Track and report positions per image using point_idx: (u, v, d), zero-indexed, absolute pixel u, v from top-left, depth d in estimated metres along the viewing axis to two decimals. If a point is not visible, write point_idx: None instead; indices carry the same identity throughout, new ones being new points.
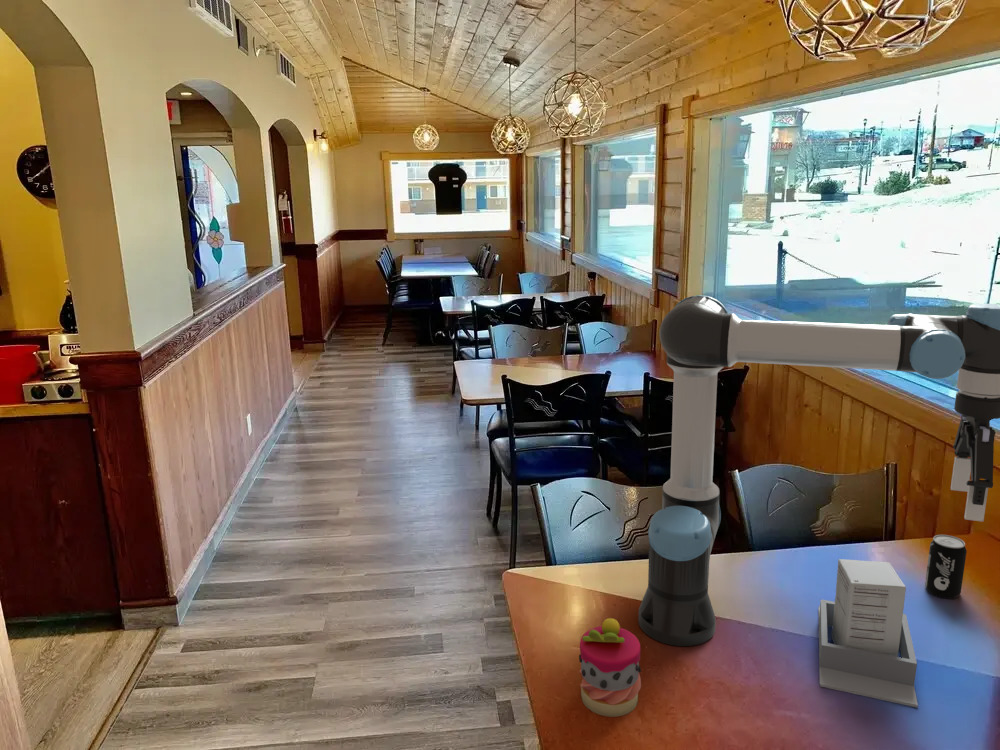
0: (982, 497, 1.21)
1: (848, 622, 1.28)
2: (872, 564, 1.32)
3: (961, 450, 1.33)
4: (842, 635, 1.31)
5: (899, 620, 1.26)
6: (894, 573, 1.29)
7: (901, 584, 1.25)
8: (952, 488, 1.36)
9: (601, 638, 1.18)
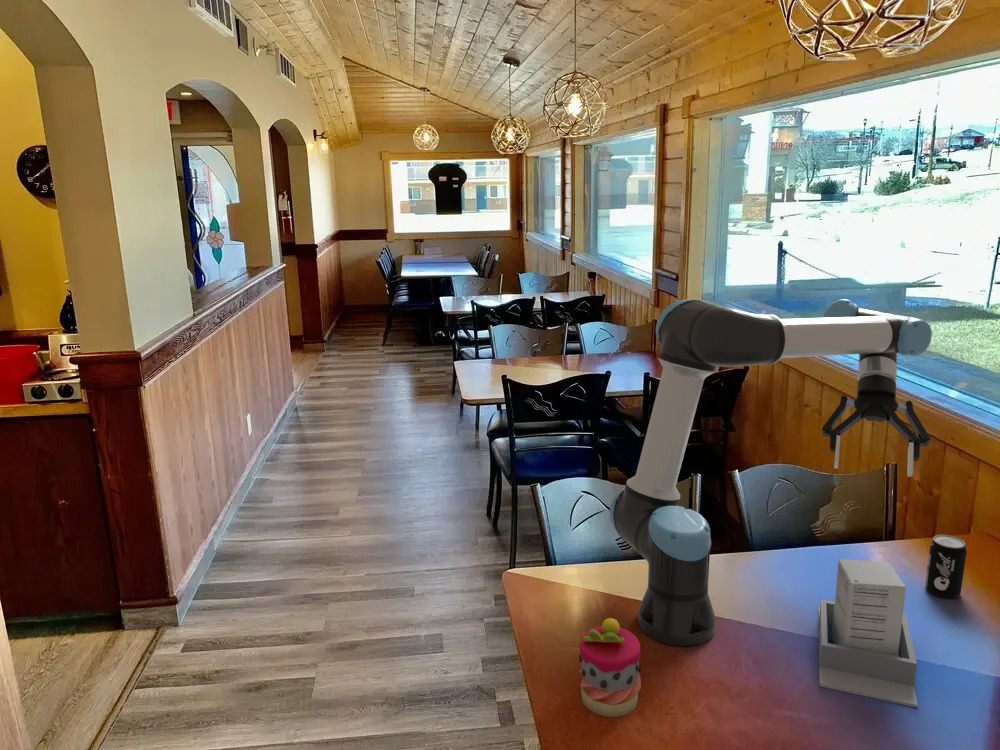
0: None
1: (848, 622, 1.28)
2: (872, 564, 1.32)
3: (842, 430, 1.53)
4: (842, 635, 1.31)
5: (899, 620, 1.26)
6: (894, 573, 1.29)
7: (901, 584, 1.25)
8: (838, 462, 1.49)
9: (601, 638, 1.18)
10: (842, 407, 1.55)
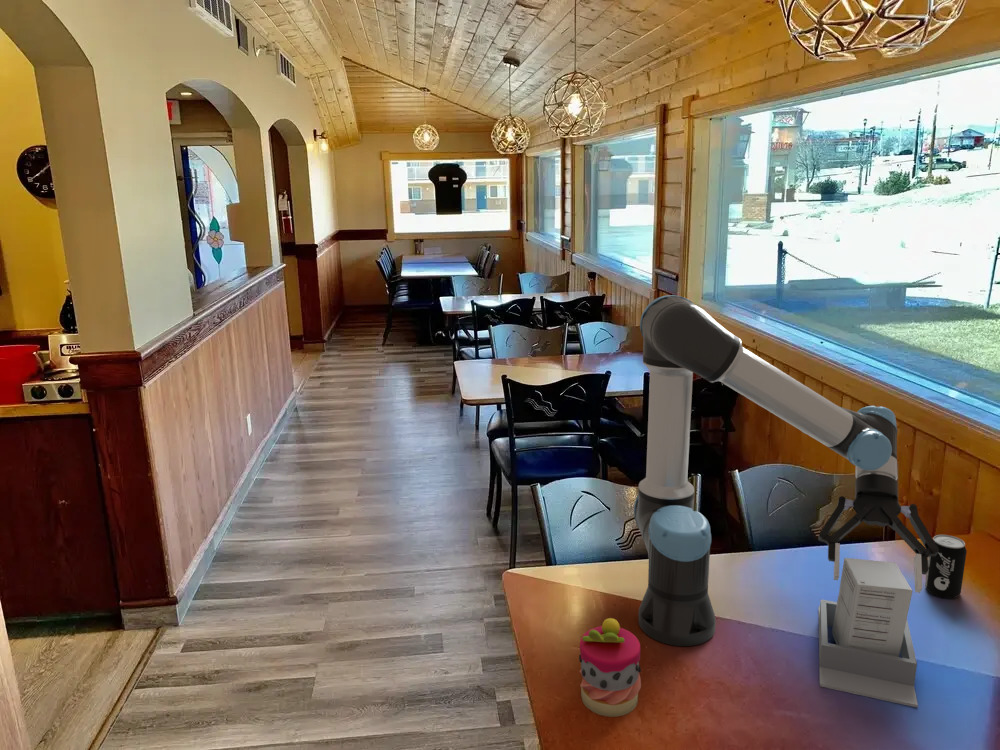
0: None
1: (852, 622, 1.27)
2: (879, 565, 1.30)
3: (841, 536, 1.38)
4: (844, 634, 1.30)
5: (903, 622, 1.25)
6: (900, 575, 1.27)
7: (908, 587, 1.24)
8: None
9: (601, 638, 1.18)
10: (840, 509, 1.40)
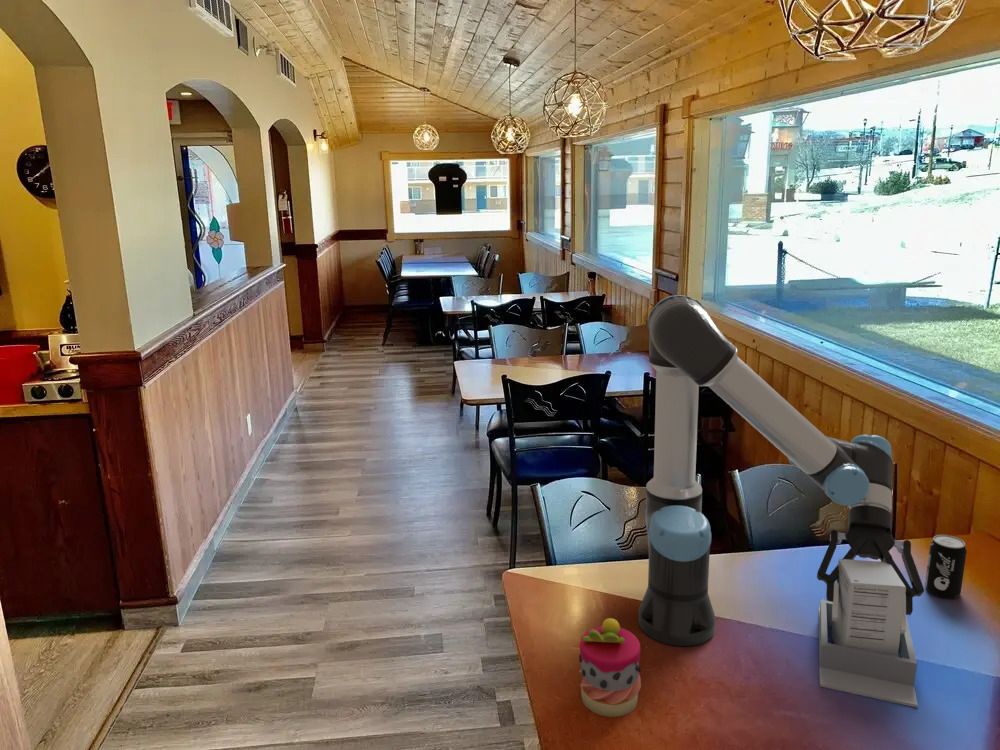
0: None
1: (848, 621, 1.28)
2: (873, 564, 1.32)
3: None
4: (841, 635, 1.31)
5: (899, 620, 1.26)
6: (894, 573, 1.29)
7: (901, 584, 1.25)
8: None
9: (601, 638, 1.18)
10: (834, 544, 1.36)
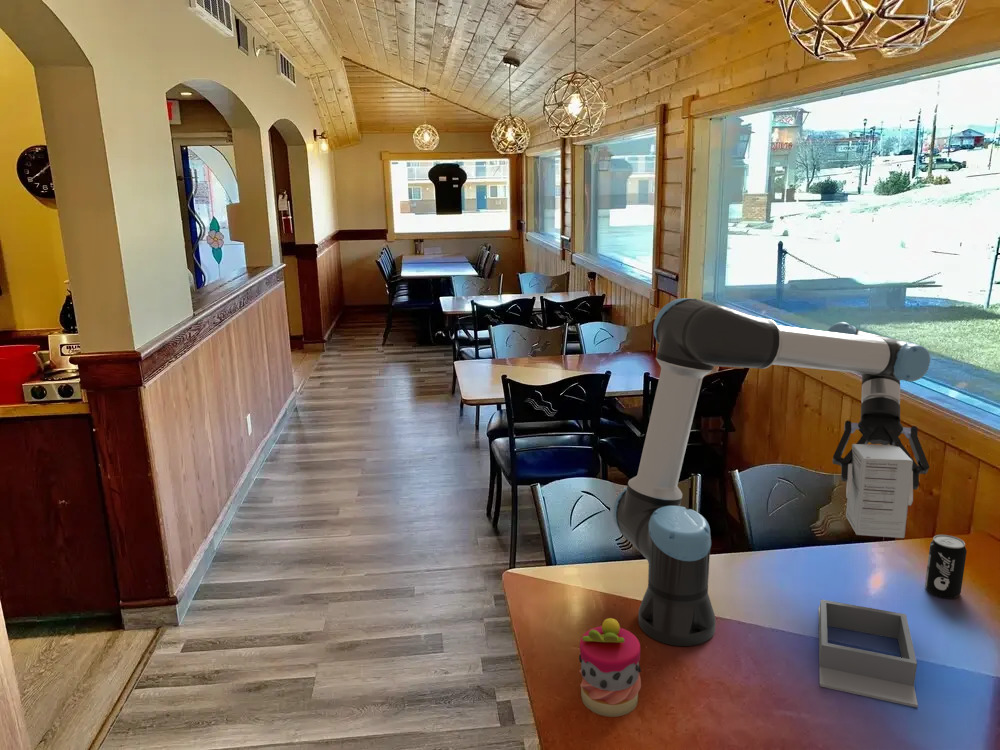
0: None
1: (861, 494, 1.43)
2: (883, 447, 1.47)
3: None
4: (855, 509, 1.46)
5: (906, 491, 1.41)
6: (902, 452, 1.44)
7: (908, 459, 1.40)
8: None
9: (601, 638, 1.18)
10: (848, 432, 1.52)
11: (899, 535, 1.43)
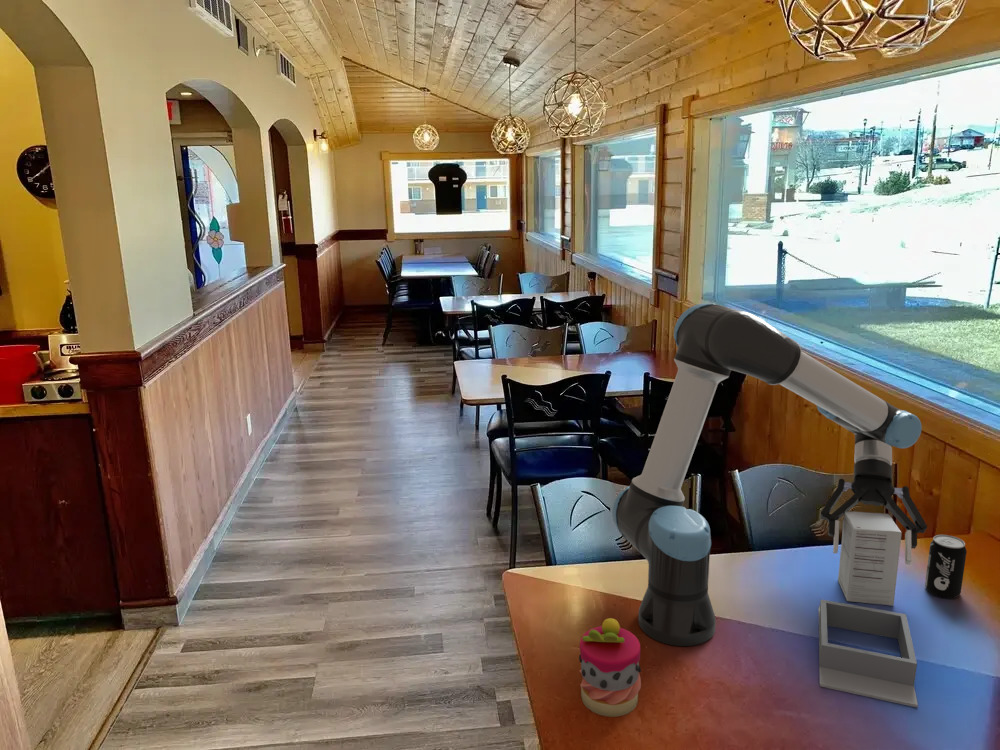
0: None
1: (851, 563, 1.48)
2: (874, 515, 1.51)
3: (841, 514, 1.54)
4: (846, 575, 1.51)
5: (896, 561, 1.45)
6: (892, 522, 1.48)
7: (897, 530, 1.45)
8: None
9: (601, 638, 1.18)
10: (840, 491, 1.56)
11: (889, 602, 1.48)
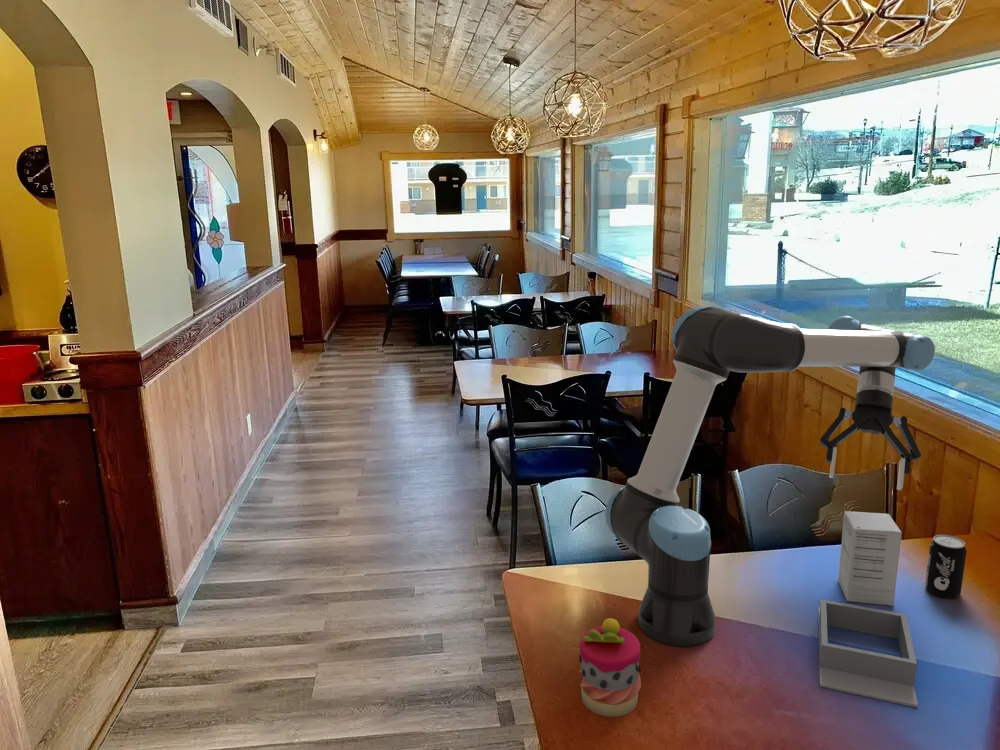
0: None
1: (851, 563, 1.48)
2: (874, 515, 1.51)
3: (839, 441, 1.61)
4: (846, 575, 1.51)
5: (896, 561, 1.45)
6: (892, 522, 1.48)
7: (897, 530, 1.45)
8: (833, 473, 1.58)
9: (601, 638, 1.18)
10: (840, 419, 1.62)
11: (889, 602, 1.48)
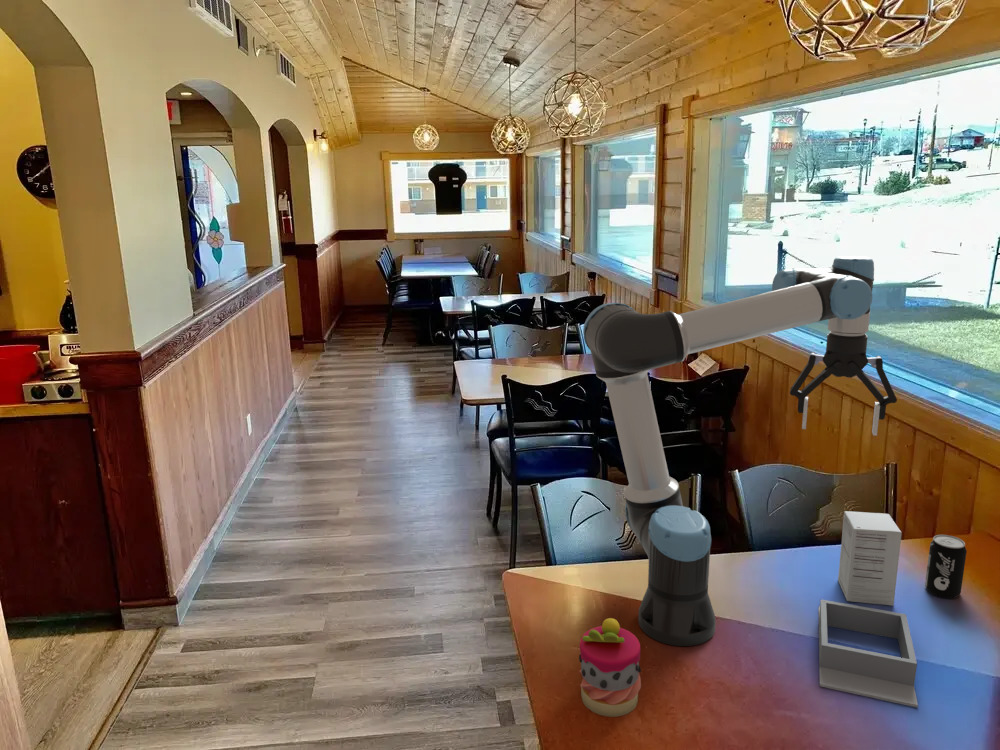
0: None
1: (851, 563, 1.48)
2: (874, 515, 1.51)
3: (810, 391, 1.51)
4: (846, 575, 1.51)
5: (896, 561, 1.45)
6: (892, 522, 1.48)
7: (897, 530, 1.45)
8: (805, 427, 1.52)
9: (601, 638, 1.18)
10: (810, 368, 1.49)
11: (889, 602, 1.48)
